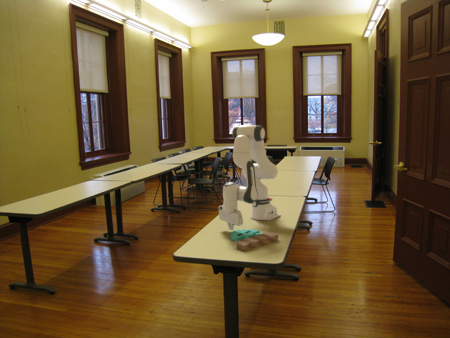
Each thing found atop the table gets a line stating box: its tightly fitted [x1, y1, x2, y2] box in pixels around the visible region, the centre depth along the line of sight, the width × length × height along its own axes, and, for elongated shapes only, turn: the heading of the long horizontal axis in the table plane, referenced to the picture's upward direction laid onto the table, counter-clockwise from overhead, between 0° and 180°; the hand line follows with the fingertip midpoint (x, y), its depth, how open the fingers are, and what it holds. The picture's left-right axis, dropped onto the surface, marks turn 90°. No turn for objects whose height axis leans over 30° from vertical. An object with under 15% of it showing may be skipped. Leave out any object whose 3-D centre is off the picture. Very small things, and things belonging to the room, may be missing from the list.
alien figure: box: [230, 228, 264, 242], centre depth 220 cm, size 20×2×20 cm
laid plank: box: [234, 231, 279, 252], centre depth 207 cm, size 26×8×3 cm, turn 127°
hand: (231, 229), depth 230 cm, fingers closed
